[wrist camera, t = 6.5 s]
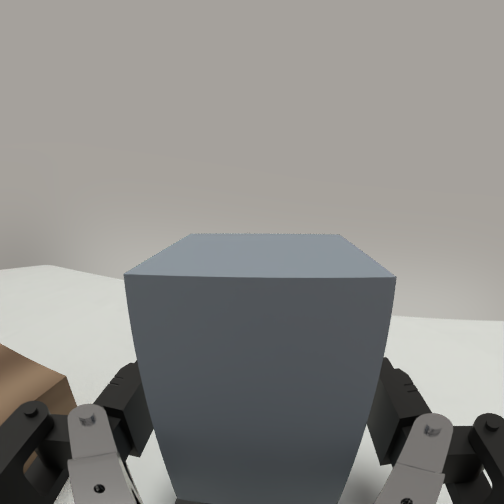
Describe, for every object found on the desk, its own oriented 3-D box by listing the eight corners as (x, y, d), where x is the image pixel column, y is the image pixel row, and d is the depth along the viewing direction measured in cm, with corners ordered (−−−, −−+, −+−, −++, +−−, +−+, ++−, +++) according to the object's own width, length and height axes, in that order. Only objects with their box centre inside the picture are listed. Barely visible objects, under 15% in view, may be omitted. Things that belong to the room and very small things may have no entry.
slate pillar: (196, 542, 8) (123, 273, 5) (213, 466, 13) (190, 233, 10) (316, 546, 7) (396, 277, 5) (310, 469, 12) (339, 234, 10)
